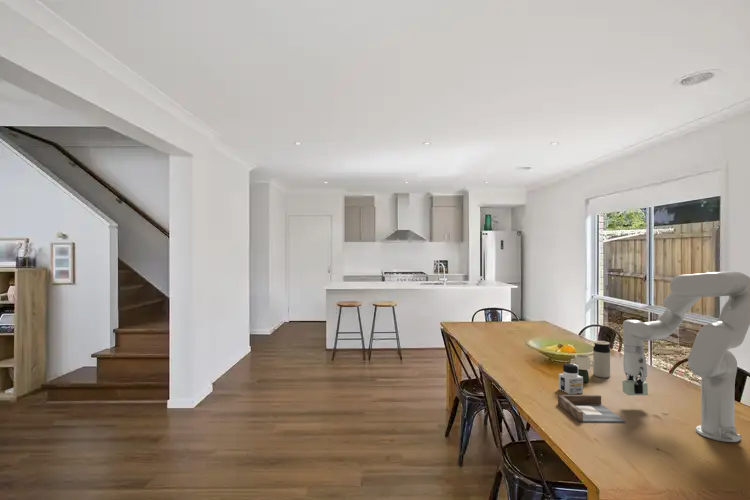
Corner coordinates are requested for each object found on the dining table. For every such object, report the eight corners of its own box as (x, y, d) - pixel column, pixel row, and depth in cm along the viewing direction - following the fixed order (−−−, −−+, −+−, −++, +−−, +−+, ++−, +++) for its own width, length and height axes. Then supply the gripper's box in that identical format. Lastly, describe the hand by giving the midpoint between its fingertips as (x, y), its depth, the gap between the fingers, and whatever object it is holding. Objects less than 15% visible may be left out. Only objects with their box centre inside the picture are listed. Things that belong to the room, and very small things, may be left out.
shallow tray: (625, 422, 167) (625, 412, 167) (579, 422, 167) (579, 412, 167) (599, 404, 187) (599, 395, 187) (558, 403, 187) (558, 394, 187)
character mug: (592, 380, 222) (592, 355, 222) (595, 384, 215) (595, 358, 215) (569, 378, 225) (569, 353, 225) (571, 382, 218) (571, 356, 218)
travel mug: (613, 377, 225) (613, 343, 225) (597, 377, 226) (597, 343, 226) (605, 373, 233) (605, 340, 233) (590, 373, 234) (590, 340, 234)
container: (569, 394, 199) (569, 366, 199) (558, 389, 207) (558, 362, 207) (583, 393, 201) (583, 365, 201) (571, 388, 209) (571, 361, 209)
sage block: (647, 395, 181) (647, 383, 181) (628, 395, 181) (628, 383, 181) (641, 391, 185) (640, 380, 185) (622, 392, 185) (622, 380, 185)
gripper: (655, 353, 175) (656, 397, 174) (631, 345, 192) (632, 385, 191) (636, 353, 175) (638, 398, 175) (614, 345, 192) (615, 386, 191)
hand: (635, 391), depth 183 cm, fingers closed on sage block, 4 cm apart
